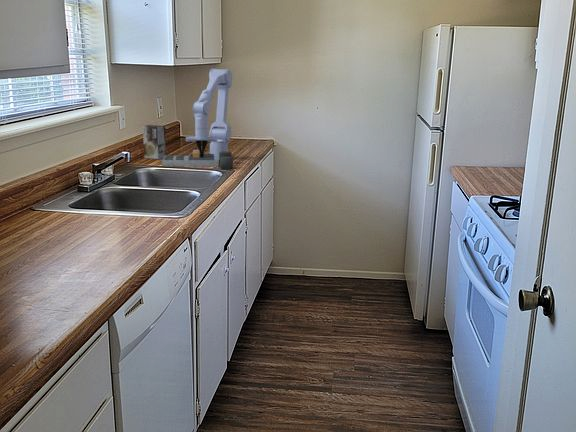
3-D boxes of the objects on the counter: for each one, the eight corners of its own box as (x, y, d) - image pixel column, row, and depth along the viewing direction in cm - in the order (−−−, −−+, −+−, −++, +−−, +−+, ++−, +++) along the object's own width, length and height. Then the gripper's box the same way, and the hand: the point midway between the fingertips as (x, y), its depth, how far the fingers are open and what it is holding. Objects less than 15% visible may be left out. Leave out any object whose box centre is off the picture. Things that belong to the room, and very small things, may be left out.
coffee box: (166, 157, 293) (165, 125, 289) (158, 159, 287) (157, 126, 283) (151, 156, 296) (150, 124, 292) (143, 157, 291) (142, 125, 287)
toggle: (199, 158, 275) (199, 151, 275) (199, 159, 272) (199, 153, 271) (192, 158, 275) (192, 151, 274) (192, 159, 271) (192, 153, 270)
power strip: (218, 161, 285) (218, 149, 283) (218, 166, 272) (218, 153, 271) (164, 161, 281) (163, 149, 279) (162, 166, 269) (161, 153, 267)
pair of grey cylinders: (231, 161, 286) (231, 151, 285) (233, 169, 266) (233, 158, 265) (219, 161, 286) (219, 151, 284) (220, 169, 265) (220, 158, 264)
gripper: (185, 128, 265) (185, 158, 269) (217, 129, 267) (217, 158, 271) (185, 126, 272) (186, 155, 275) (217, 127, 274) (217, 155, 277)
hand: (201, 156), depth 273 cm, fingers closed
